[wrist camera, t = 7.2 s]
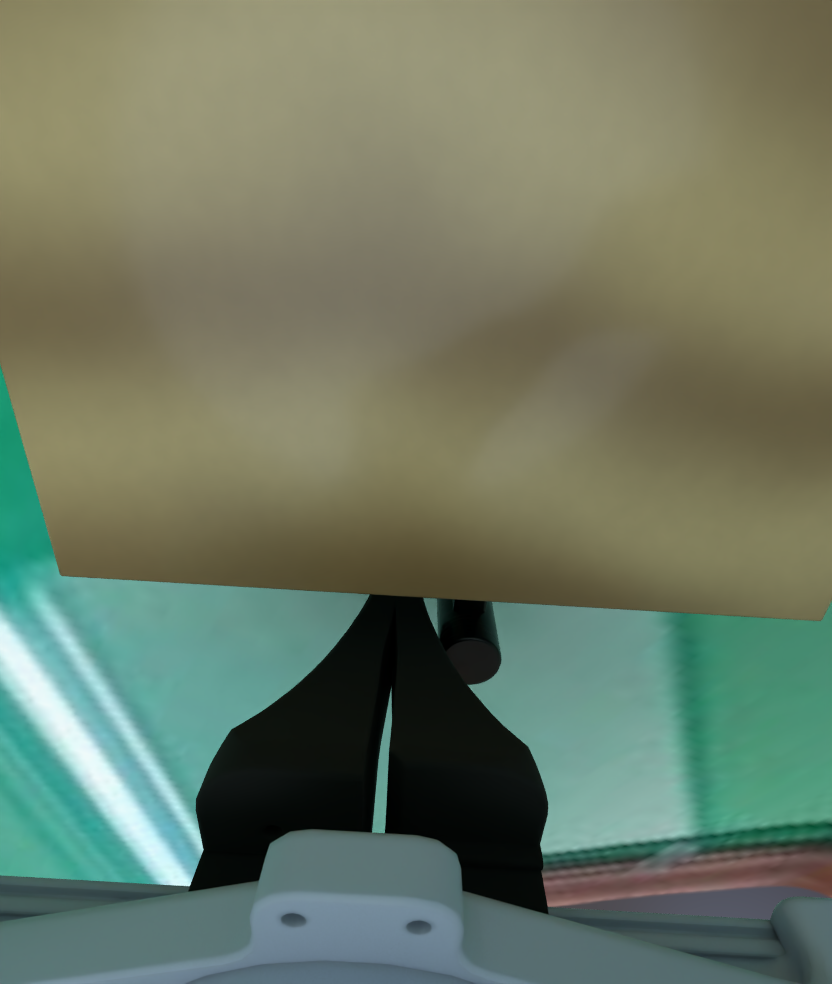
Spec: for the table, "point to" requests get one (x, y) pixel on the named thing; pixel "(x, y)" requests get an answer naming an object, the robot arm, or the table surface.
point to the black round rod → (469, 638)
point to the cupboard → (426, 295)
